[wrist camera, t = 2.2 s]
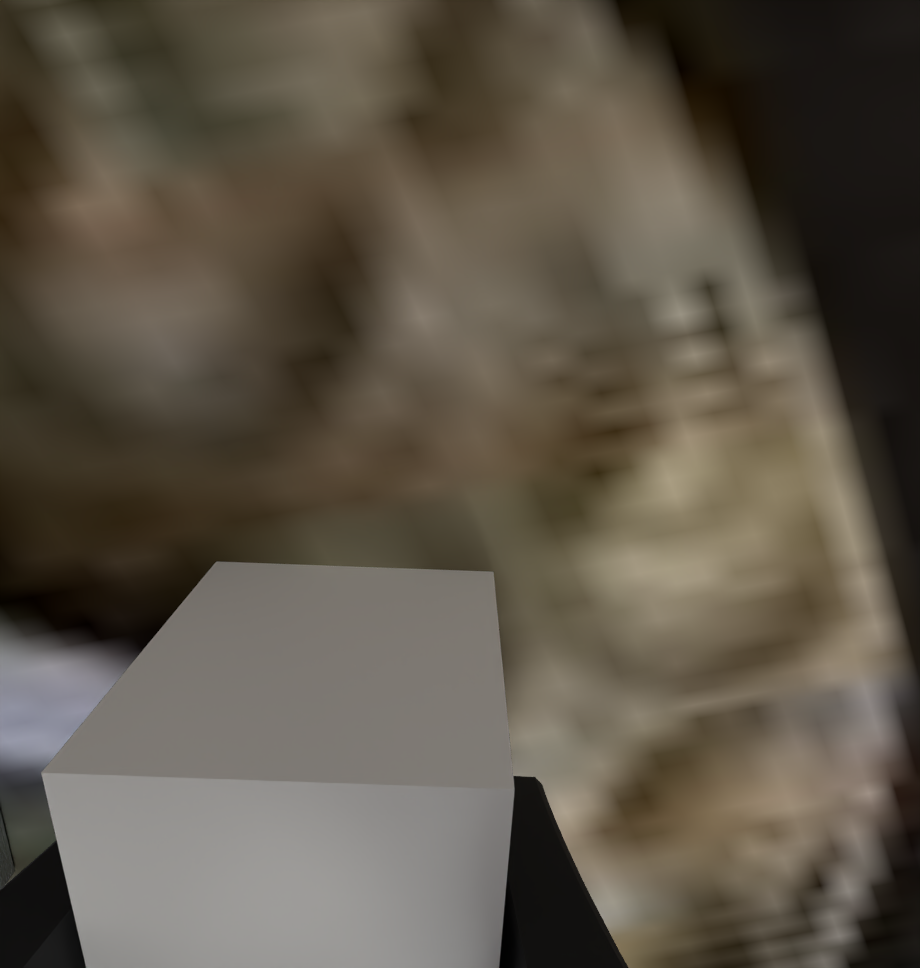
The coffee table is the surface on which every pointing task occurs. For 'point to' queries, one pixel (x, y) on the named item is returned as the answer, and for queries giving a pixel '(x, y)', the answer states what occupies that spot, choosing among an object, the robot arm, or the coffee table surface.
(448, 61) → the coffee table surface
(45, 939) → the robot arm
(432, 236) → the coffee table surface
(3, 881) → the rack
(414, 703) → the white rectangular block
